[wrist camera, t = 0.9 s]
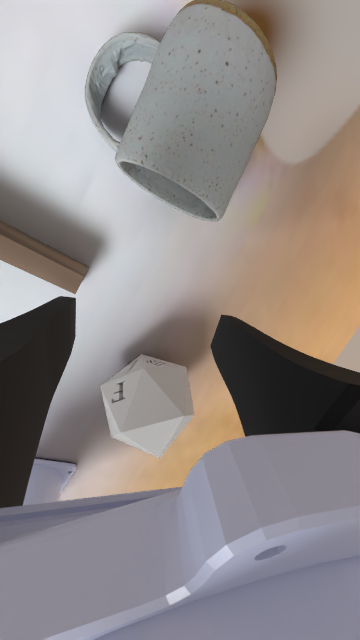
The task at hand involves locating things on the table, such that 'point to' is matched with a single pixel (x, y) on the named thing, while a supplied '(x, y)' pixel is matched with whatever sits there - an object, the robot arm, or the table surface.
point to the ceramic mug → (191, 105)
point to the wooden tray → (40, 259)
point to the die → (148, 403)
